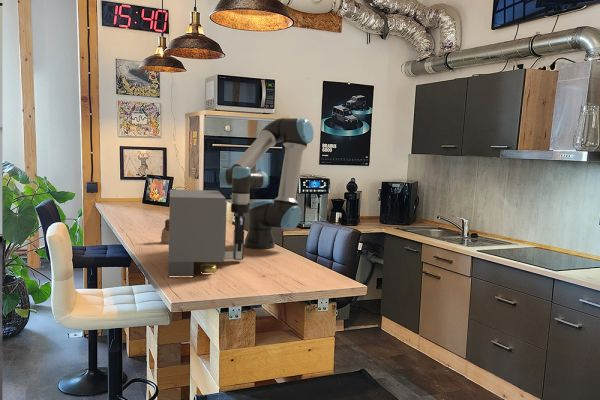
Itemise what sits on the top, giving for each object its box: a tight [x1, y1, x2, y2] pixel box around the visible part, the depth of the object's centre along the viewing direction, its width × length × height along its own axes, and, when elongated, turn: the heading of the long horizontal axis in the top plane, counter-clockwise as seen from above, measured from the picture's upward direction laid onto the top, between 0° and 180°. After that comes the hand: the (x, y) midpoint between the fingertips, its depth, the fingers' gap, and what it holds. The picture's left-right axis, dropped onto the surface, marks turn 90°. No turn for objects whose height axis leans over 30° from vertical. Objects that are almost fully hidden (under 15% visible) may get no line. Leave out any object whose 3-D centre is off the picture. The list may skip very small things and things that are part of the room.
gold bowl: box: [200, 263, 217, 273], centre depth 190 cm, size 6×6×3 cm
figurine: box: [160, 218, 169, 245], centre depth 242 cm, size 7×7×12 cm
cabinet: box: [167, 189, 228, 277], centre depth 196 cm, size 22×28×30 cm
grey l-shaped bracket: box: [224, 229, 245, 261], centre depth 208 cm, size 20×4×12 cm, turn 104°
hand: (237, 257), depth 210 cm, fingers closed on grey l-shaped bracket, 4 cm apart
